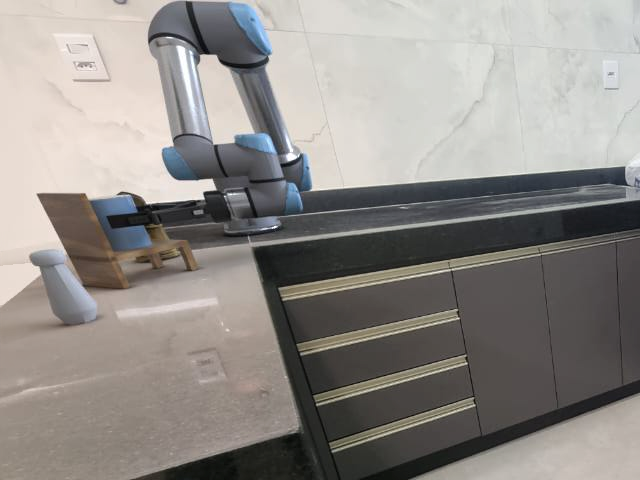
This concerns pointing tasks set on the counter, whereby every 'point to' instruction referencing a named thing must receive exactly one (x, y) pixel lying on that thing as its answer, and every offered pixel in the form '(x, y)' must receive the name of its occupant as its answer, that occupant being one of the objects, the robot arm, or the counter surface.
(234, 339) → the counter surface
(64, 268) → the salt shaker
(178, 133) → the robot arm
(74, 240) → the wooden chair
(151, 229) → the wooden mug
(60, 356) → the counter surface
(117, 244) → the blue cup
